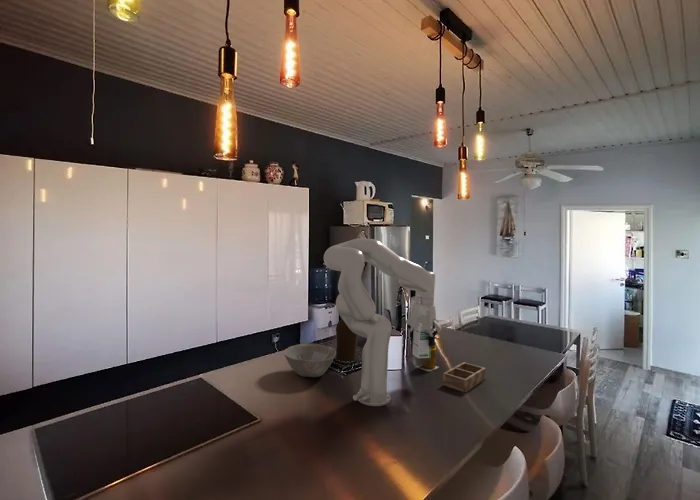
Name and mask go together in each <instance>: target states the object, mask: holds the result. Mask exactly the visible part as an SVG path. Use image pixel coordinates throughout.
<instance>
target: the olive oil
mask: <svg viewBox="0 0 700 500" xmlns="http://www.w3.org/2000/svg"><path fill="white" fill-rule="evenodd" d="M358 336H359V335H357V334H355V333H353V332H352V331H351V330H350V329H349V327H348V326H347V325H346V323H345V322H344V320H343V319H342V318H340V320H339V321H338V322H337V323H336V327H335V350H336V355H335V359H337V360H340V361H353V360H357V349H358V348H357V346H358V338H359V337H358Z"/></svg>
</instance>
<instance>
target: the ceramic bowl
mask: <svg viewBox="0 0 700 500" xmlns="http://www.w3.org/2000/svg"><path fill="white" fill-rule="evenodd" d="M283 354H284V357H285V359H286V361H287V362H288V364H289V365H290V367H291V369H292V370H293V371H294V372H295V373H296V374H297V375H298V376H301V377H303V378H320V377H322V376H323V375H324V374H325V373H326V372H327V371H328V369H329V368H330V366H331V364H333V361H334V358H336V348H333V347H330V346H328V345H324V344H319V343H299V344H295V345H291V346H288V347H287V348H285V349H284V350H283Z"/></svg>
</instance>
